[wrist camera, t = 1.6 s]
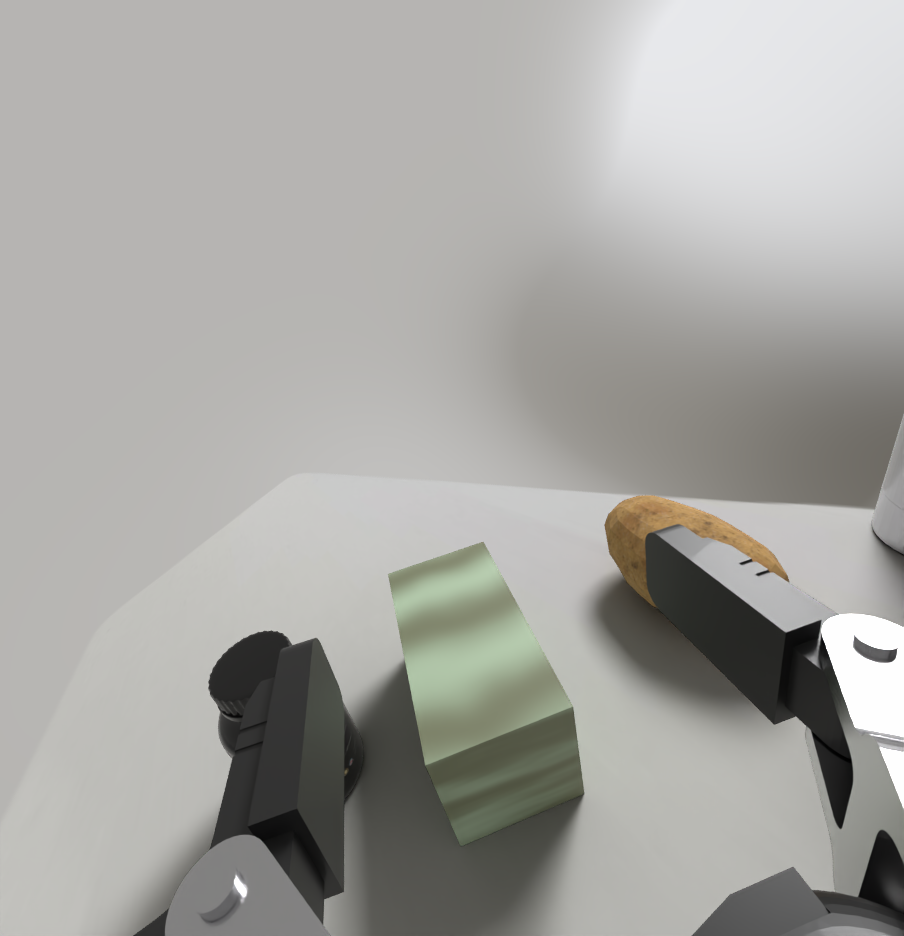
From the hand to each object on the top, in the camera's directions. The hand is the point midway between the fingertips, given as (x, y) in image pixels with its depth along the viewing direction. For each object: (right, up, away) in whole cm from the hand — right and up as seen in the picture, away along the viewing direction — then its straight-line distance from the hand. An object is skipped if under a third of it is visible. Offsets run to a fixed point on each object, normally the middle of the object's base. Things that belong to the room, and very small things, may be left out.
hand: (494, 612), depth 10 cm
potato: (+19, -8, +28) cm, 34 cm away
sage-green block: (+2, -15, +23) cm, 27 cm away
